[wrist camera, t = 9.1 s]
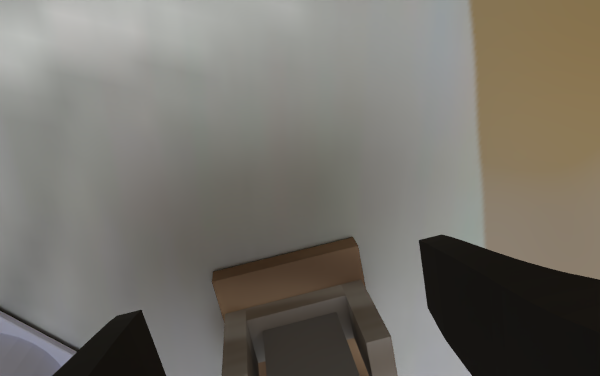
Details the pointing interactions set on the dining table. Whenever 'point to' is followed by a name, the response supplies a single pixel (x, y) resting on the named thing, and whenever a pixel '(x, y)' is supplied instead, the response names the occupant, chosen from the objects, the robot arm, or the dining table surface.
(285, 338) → the grey rectangular block
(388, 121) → the dining table surface
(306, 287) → the cradle
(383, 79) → the dining table surface
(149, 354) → the robot arm
